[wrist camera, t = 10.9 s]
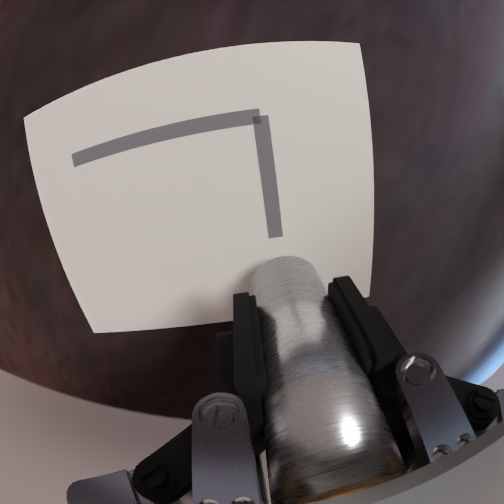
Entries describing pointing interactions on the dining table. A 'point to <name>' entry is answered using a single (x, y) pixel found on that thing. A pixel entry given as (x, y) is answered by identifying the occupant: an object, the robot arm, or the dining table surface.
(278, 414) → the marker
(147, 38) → the dining table surface
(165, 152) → the paper
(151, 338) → the dining table surface
